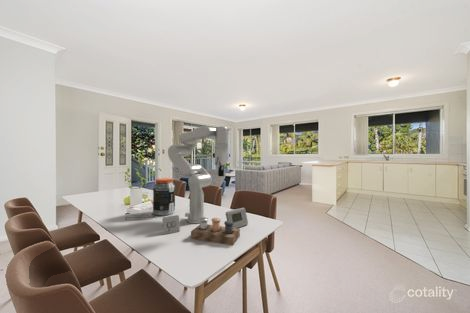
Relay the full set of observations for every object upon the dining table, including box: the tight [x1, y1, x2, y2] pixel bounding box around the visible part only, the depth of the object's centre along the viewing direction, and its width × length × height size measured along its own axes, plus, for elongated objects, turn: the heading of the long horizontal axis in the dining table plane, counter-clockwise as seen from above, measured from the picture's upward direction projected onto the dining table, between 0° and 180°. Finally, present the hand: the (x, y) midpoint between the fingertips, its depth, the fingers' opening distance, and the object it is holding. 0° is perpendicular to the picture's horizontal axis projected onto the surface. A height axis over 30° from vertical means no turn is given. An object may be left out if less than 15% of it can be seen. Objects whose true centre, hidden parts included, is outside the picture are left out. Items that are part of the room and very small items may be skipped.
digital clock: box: [225, 207, 249, 229], centre depth 123 cm, size 16×9×11 cm, turn 120°
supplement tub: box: [152, 177, 176, 216], centre depth 148 cm, size 16×16×26 cm
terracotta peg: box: [211, 217, 221, 232], centre depth 107 cm, size 5×5×9 cm
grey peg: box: [199, 217, 209, 230], centre depth 109 cm, size 5×5×9 cm
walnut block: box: [190, 223, 241, 247], centre depth 107 cm, size 24×12×4 cm, turn 72°
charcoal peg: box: [224, 220, 233, 234], centre depth 104 cm, size 5×5×9 cm
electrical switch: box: [162, 214, 181, 235], centre depth 114 cm, size 9×5×9 cm, turn 122°
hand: (221, 176), depth 121 cm, fingers closed
